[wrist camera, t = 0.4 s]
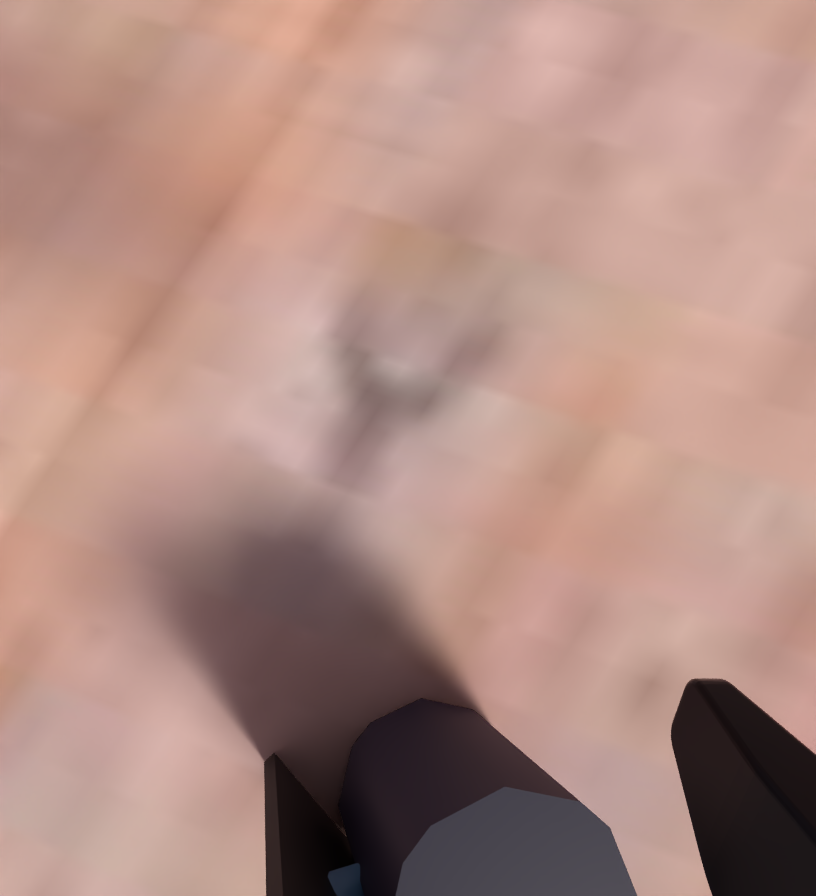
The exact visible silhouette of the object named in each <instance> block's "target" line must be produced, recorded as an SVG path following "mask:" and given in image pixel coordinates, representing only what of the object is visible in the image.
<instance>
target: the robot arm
mask: <svg viewBox="0 0 816 896" xmlns="http://www.w3.org/2000/svg"><path fill="white" fill-rule="evenodd" d="M671 740H672V746H673V750H674V754H675V758H676V762H677V766H678V770H679V774H680V778H681V782H682V786H683V790H684V794H685V798H686V802H687V806H688V809H689V813H690V817H691V821H692V825H693V829H694V833H695V837H696V841H697V845H698V849H699V853H700V856H701V860H702V864H703V867H704V871H705V874H706V878H707V881H708V884H709V887H710V890H711V893H712V896H816V754H814V753H813V752H812V751H811V750H810V749H809V748H807V747H806V746H805V745H804V744H803V743H801V742H800V741H799V740H798V739H797V738H795V737H794V736H793V735H792V734H791V733H789V732H788V731H787V730H786V729H785V728H783V727H782V726H781V725H780V724H779V723H777V722H776V721H775V720H774V719H773V718H772V717H770V716H769V715H768V714H767V713H766V712H764V711H763V710H762V709H761V708H760V707H758V706H757V705H756V704H755V703H754V702H752V701H751V700H750V699H749V698H748V697H746V696H745V695H744V694H743V693H742V692H741V691H739V690H738V689H737V688H736V687H735V686H733V685H732V684H731V683H729V682H728V681H726V680H723V679H692V680H690V681H689V682H688V683H687V684H686V687H685V689H684V692H683V695H682V697H681V700H680V703H679V706H678V709H677V711H676V714H675V717H674V720H673V723H672V728H671Z"/></svg>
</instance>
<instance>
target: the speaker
mask: <svg viewBox="0 0 816 896" xmlns="http://www.w3.org/2000/svg"><path fill="white" fill-rule="evenodd" d="M264 778H265V840H266V896H637V894H636V892H635V889H634V887H633V884H632V882H631V879H630V877H629V874H628V872H627V869H626V867H625V864H624V862H623V859H622V857H621V854H620V852H619V849H618V847H617V844H616V842H615V839H614V837H613V834H612V832H611V829H610V827H608V826H607V825H606V824H605V823H604V822H603V821H602V820H601V819H599V818H598V817H597V816H596V815H595V814H594V813H593V812H591V811H590V810H589V809H588V808H587V807H586V806H585V805H583V804H582V803H581V802H580V801H579V800H578V799H577V798H575V797H574V796H573V795H572V794H571V793H569V792H568V791H567V790H566V789H565V788H564V787H562V786H561V785H560V784H559V783H558V782H557V781H555V780H554V779H553V778H552V777H551V776H550V775H548V774H547V773H546V772H545V771H544V770H543V769H541V768H540V767H539V766H538V765H537V764H536V763H534V762H533V761H532V760H531V759H530V758H529V757H527V756H526V755H525V754H524V753H523V752H522V751H520V750H519V749H518V748H517V747H516V746H515V745H513V744H512V743H511V742H510V741H509V740H508V739H506V738H505V737H504V736H503V735H502V734H501V733H499V732H498V731H497V730H496V729H495V728H494V727H492V726H491V725H490V724H489V723H488V722H487V721H485V720H484V719H483V718H482V717H481V716H480V715H478V714H477V713H476V712H475V711H474V710H472V709H468V708H463V707H458V706H454V705H449V704H445V703H440V702H435V701H431V700H426V699H422V698H421V699H419V700H417V701H415V702H413V703H411V704H409V705H406V706H404V707H402V708H400V709H398V710H396V711H394V712H392V713H390V714H388V715H386V716H384V717H381V718H379V719H377V720H375V721H373V722H371V723H370V724H369V726H368V727H367V728H366V729H365V731H364V732H363V733H362V734H361V736H360V737H359V738H358V739H357V741H356V742H355V743H354V744H353V746H352V749H351V753H350V757H349V761H348V766H347V770H346V774H345V778H344V782H343V787H342V791H341V795H340V799H339V803H338V807H339V810H340V814H341V817H342V820H343V824H344V827H345V831H346V834H347V837H346V836H345V835H344V834H343V833H342V832H341V830H340V829H339V828H338V827H337V826H336V825H335V823H334V822H333V821H332V820H331V819H330V817H329V816H328V815H327V814H326V813H325V812H324V810H323V809H322V808H321V807H320V806H319V805H318V803H317V802H316V801H315V800H314V799H313V798H312V796H311V795H310V794H309V793H308V792H307V791H306V789H305V788H304V787H303V786H302V785H301V784H300V782H299V781H298V780H297V779H296V778H295V777H294V775H293V774H292V773H291V772H290V771H289V769H288V768H287V767H286V766H285V765H284V764H283V762H282V761H281V760H280V759H279V758H278V757H277V755H276V754H275V753H273V754H272V755H271V756H270V757H269V758H268V759H267V760H266V761H265V762H264ZM347 838H348V839H347Z"/></svg>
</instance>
